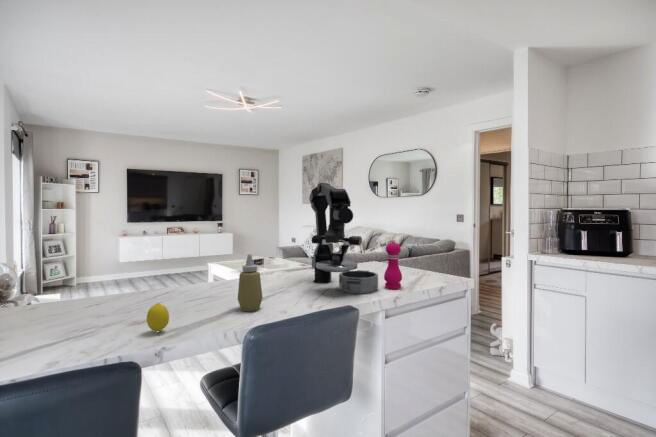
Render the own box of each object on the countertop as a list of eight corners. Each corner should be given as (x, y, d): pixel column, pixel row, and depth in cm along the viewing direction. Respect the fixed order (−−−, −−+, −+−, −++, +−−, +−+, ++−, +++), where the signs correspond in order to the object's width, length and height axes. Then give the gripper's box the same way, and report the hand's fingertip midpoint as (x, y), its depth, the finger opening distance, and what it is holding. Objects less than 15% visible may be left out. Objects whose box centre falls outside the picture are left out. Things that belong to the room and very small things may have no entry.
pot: (333, 294, 142) (333, 278, 141) (346, 282, 162) (346, 268, 161) (373, 297, 137) (373, 281, 137) (380, 284, 158) (381, 270, 157)
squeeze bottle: (267, 306, 125) (266, 253, 124) (254, 313, 118) (254, 257, 117) (246, 304, 128) (245, 252, 127) (232, 311, 120) (231, 255, 119)
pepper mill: (401, 286, 155) (401, 237, 154) (402, 290, 148) (403, 239, 147) (383, 285, 156) (383, 237, 155) (384, 289, 149) (384, 239, 148)
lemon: (151, 329, 104) (150, 300, 104) (172, 328, 105) (171, 300, 104) (143, 336, 99) (142, 306, 98) (165, 335, 99) (164, 305, 99)
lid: (309, 272, 139) (309, 255, 139) (323, 264, 154) (323, 249, 154) (351, 275, 134) (351, 257, 134) (361, 266, 149) (361, 251, 149)
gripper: (306, 222, 138) (306, 264, 139) (355, 223, 133) (355, 267, 134) (316, 220, 149) (316, 259, 150) (362, 221, 143) (362, 262, 144)
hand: (336, 262), depth 144 cm, fingers closed on lid, 4 cm apart
